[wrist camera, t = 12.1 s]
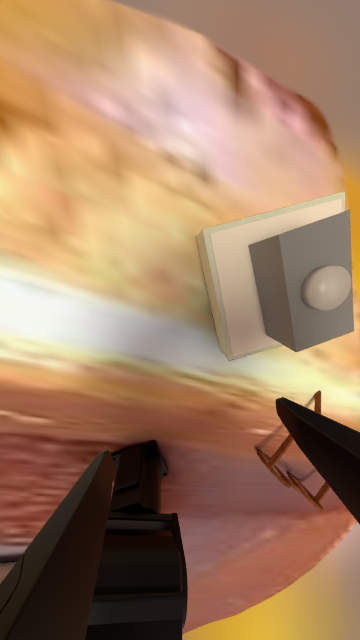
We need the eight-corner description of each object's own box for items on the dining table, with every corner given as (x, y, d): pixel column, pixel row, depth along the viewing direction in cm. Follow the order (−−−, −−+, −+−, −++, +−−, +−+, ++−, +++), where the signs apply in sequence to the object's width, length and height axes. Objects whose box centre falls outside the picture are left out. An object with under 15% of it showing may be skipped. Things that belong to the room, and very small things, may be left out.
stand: (319, 320, 21) (344, 327, 18) (220, 349, 21) (229, 362, 18) (316, 204, 17) (346, 190, 15) (195, 236, 17) (203, 228, 14)
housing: (301, 226, 15) (363, 204, 10) (311, 318, 17) (365, 334, 13) (248, 245, 15) (287, 231, 10) (266, 335, 17) (304, 356, 13)
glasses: (250, 444, 26) (270, 483, 21) (316, 387, 24) (354, 415, 20) (296, 479, 29) (322, 519, 24) (357, 431, 28) (398, 464, 23)
